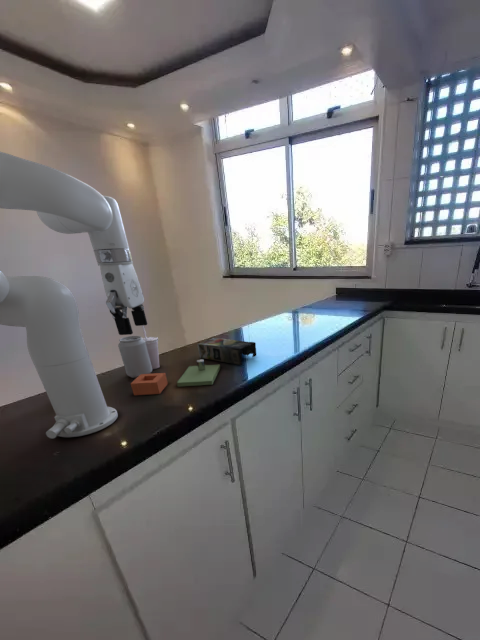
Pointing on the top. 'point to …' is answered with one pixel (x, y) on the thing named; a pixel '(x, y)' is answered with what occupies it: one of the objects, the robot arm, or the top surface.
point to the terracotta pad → (149, 384)
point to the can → (135, 356)
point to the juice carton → (226, 350)
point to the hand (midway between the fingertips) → (134, 329)
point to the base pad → (199, 374)
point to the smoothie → (152, 349)
